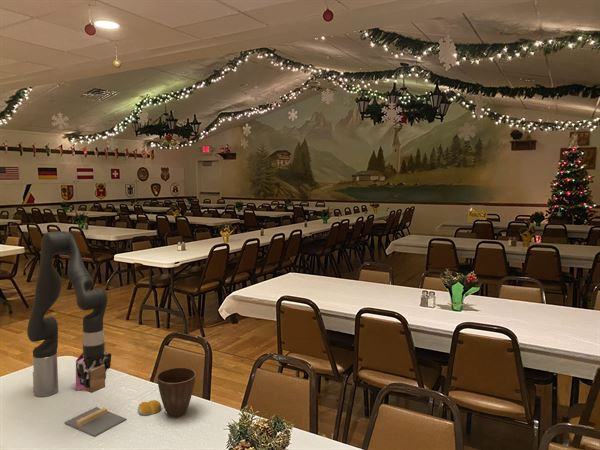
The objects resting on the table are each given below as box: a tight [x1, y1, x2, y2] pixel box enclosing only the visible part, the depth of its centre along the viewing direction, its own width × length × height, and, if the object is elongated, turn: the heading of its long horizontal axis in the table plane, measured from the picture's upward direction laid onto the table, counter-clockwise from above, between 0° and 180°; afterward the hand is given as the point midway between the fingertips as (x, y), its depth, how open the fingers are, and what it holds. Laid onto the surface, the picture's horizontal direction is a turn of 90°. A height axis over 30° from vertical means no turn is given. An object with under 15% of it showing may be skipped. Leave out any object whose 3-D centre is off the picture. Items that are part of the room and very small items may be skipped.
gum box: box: [75, 342, 107, 391], centre depth 213 cm, size 24×8×14 cm, turn 10°
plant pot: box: [156, 367, 196, 418], centre depth 183 cm, size 15×15×16 cm
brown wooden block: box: [84, 365, 106, 394], centre depth 174 cm, size 4×6×9 cm, turn 151°
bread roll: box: [137, 399, 162, 416], centre depth 185 cm, size 8×9×4 cm
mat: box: [63, 406, 127, 438], centre depth 176 cm, size 18×14×2 cm
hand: (94, 384), depth 175 cm, fingers closed on brown wooden block, 6 cm apart
